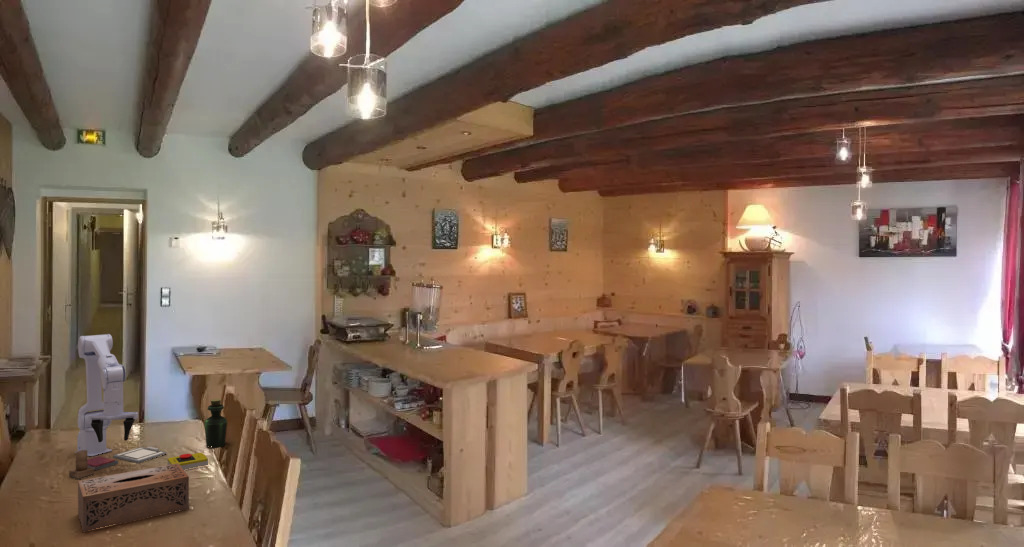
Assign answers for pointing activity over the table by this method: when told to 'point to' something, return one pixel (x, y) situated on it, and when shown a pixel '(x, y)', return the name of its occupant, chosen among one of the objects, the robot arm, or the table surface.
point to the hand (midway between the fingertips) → (113, 440)
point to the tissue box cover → (132, 496)
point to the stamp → (81, 466)
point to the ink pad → (100, 462)
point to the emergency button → (189, 460)
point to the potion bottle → (215, 425)
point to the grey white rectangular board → (139, 454)
